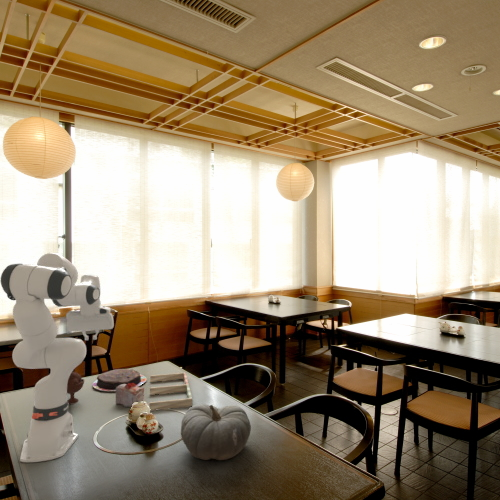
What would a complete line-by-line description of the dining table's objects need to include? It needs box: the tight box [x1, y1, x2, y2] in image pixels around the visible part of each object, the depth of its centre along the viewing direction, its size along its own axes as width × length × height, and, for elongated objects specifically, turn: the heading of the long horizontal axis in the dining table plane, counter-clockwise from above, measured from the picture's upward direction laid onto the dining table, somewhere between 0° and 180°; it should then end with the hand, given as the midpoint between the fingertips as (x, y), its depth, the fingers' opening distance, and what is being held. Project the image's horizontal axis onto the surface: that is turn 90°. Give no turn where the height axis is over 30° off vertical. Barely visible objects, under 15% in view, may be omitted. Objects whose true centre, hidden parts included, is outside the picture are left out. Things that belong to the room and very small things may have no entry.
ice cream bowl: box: [67, 370, 85, 405], centre depth 187 cm, size 11×11×15 cm
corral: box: [148, 371, 193, 411], centre depth 197 cm, size 40×19×4 cm, turn 14°
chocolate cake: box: [92, 368, 147, 393], centre depth 212 cm, size 28×28×7 cm
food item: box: [115, 383, 145, 408], centre depth 183 cm, size 14×8×10 cm, turn 63°
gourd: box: [180, 403, 252, 461], centre depth 141 cm, size 25×25×17 cm
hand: (90, 339), depth 180 cm, fingers open, 2 cm apart
